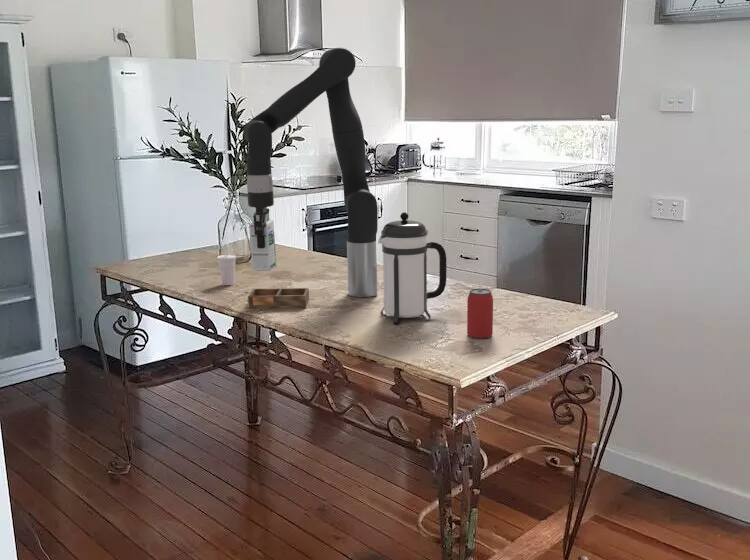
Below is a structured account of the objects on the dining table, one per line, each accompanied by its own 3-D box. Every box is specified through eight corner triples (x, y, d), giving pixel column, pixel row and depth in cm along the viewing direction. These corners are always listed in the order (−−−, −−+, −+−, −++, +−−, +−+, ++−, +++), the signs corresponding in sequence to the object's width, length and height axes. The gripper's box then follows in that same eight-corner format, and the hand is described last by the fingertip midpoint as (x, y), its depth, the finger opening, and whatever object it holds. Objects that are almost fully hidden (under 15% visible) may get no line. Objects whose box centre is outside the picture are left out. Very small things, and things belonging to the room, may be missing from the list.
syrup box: (270, 271, 225) (267, 223, 222) (251, 270, 226) (248, 222, 223) (276, 267, 231) (274, 219, 227) (258, 266, 232) (255, 219, 228)
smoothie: (217, 287, 254) (214, 245, 250) (220, 282, 260) (217, 242, 257) (236, 286, 254) (234, 245, 250) (239, 282, 260) (236, 241, 257)
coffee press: (421, 328, 205) (420, 218, 197) (369, 321, 212) (367, 214, 205) (447, 312, 219) (447, 209, 212) (397, 306, 227) (396, 206, 220)
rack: (309, 299, 235) (308, 287, 235) (305, 308, 226) (305, 295, 225) (254, 300, 236) (253, 288, 235) (248, 308, 227) (247, 296, 226)
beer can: (491, 331, 201) (491, 287, 198) (493, 339, 194) (494, 294, 192) (466, 331, 201) (466, 287, 198) (468, 339, 195) (468, 294, 192)
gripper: (269, 192, 216) (272, 250, 220) (276, 186, 230) (279, 241, 234) (242, 193, 216) (246, 250, 220) (251, 187, 230) (254, 241, 234)
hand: (263, 245), depth 227 cm, fingers closed on syrup box, 6 cm apart
